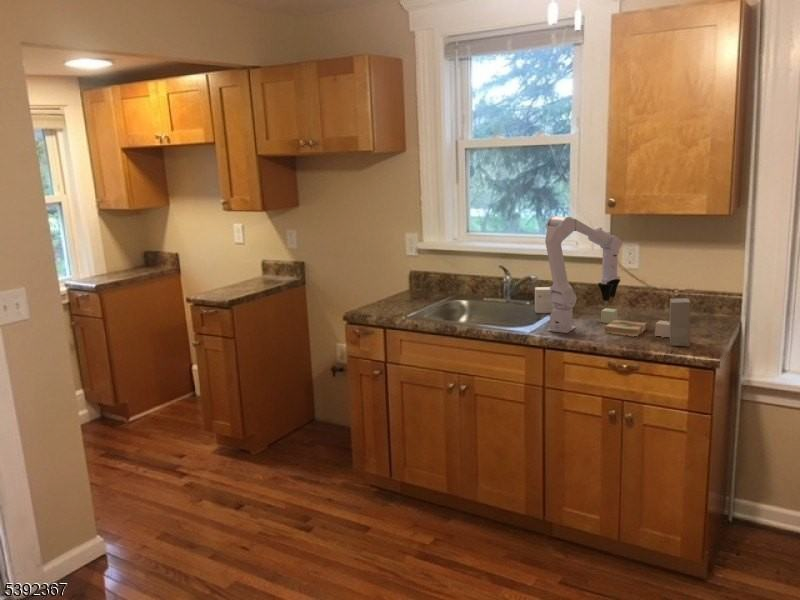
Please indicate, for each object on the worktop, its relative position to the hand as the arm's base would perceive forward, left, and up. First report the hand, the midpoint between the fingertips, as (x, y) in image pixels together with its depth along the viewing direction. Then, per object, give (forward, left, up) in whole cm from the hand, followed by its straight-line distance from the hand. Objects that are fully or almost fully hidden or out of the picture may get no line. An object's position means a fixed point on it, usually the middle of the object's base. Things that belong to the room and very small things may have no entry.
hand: (608, 298), depth 260 cm
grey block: (-11, -24, -10) cm, 29 cm away
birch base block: (-11, -10, -10) cm, 18 cm away
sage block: (0, 0, -10) cm, 10 cm away
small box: (+5, +30, -10) cm, 31 cm away
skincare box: (-19, -31, -10) cm, 38 cm away
